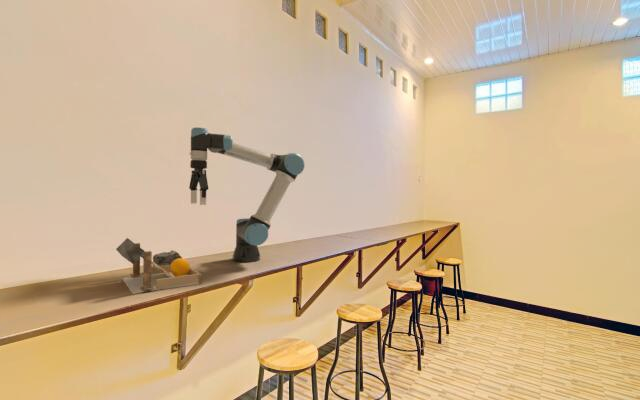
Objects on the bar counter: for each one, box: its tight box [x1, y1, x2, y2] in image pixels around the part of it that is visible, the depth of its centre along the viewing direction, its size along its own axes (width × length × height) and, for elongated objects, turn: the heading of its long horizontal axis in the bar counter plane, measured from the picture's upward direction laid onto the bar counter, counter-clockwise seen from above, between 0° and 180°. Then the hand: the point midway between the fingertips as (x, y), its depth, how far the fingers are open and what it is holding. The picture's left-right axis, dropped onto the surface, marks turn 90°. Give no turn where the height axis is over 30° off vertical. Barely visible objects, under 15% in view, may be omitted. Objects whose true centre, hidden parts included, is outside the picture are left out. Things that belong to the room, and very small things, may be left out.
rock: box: [152, 250, 183, 267], centre depth 161 cm, size 16×8×10 cm, turn 142°
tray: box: [122, 265, 202, 295], centre depth 141 cm, size 25×24×4 cm
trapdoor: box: [116, 237, 172, 278], centre depth 137 cm, size 23×19×6 cm
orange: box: [171, 257, 191, 277], centre depth 145 cm, size 8×8×8 cm
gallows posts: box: [129, 242, 154, 293], centre depth 136 cm, size 4×26×15 cm, turn 38°
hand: (198, 204), depth 163 cm, fingers open, 13 cm apart
